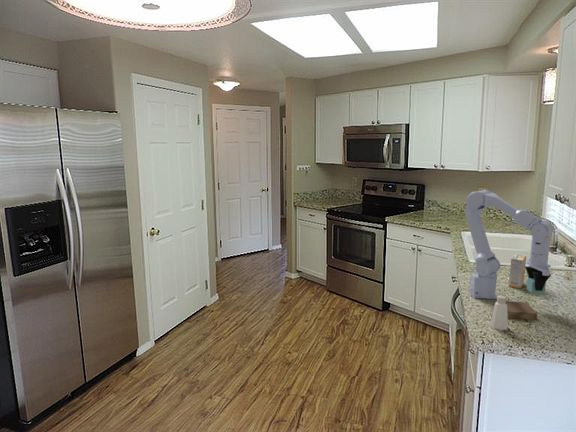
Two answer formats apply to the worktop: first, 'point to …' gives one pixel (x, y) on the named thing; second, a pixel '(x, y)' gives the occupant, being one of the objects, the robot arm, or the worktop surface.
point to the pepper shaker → (500, 314)
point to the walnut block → (520, 310)
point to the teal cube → (532, 287)
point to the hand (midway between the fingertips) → (535, 287)
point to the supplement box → (517, 271)
